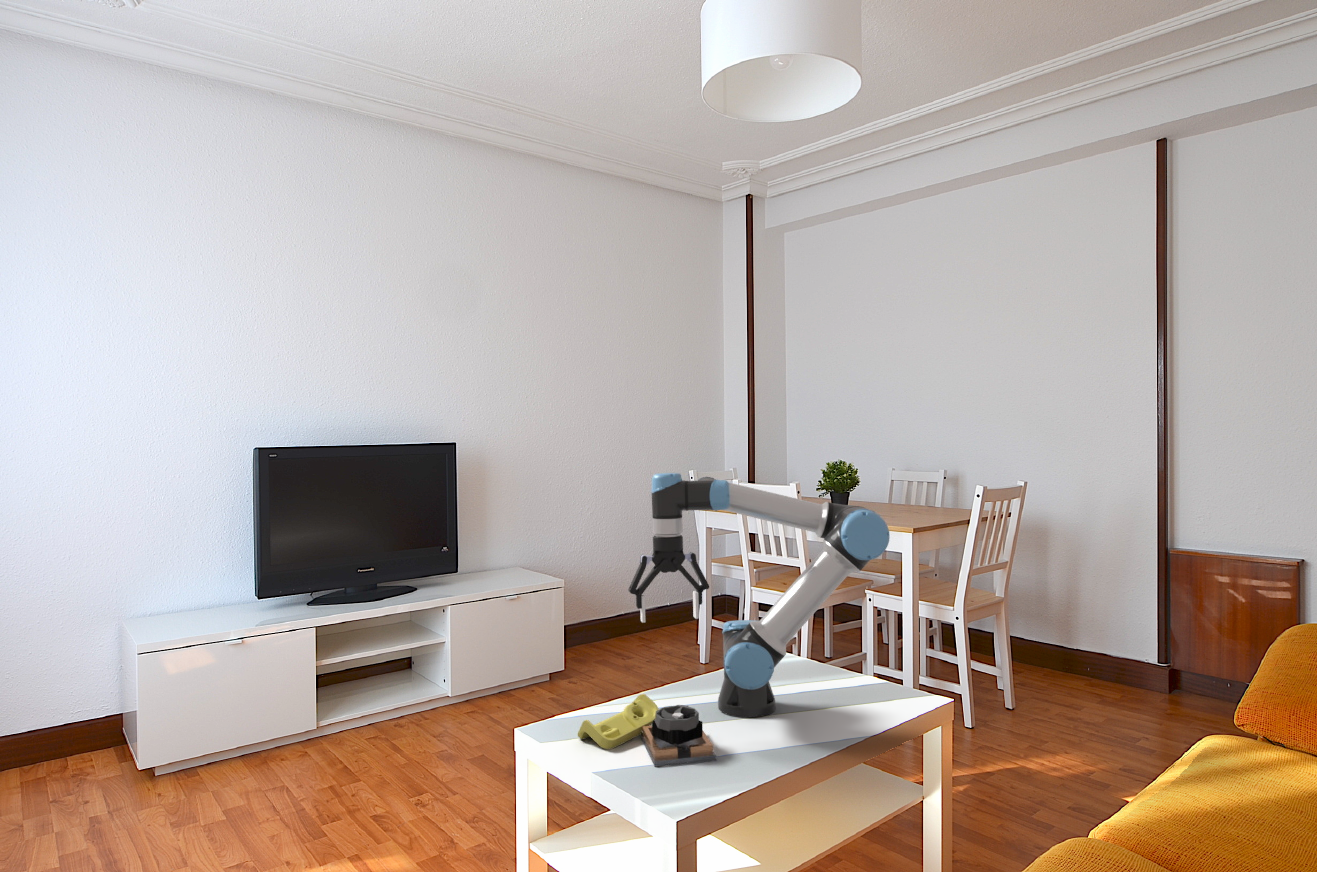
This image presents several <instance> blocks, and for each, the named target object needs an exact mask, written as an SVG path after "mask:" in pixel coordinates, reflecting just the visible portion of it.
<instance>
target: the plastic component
mask: <svg viewBox="0 0 1317 872" xmlns="http://www.w3.org/2000/svg"><path fill="white" fill-rule="evenodd" d="M659 709H660V708H659V706H658V705H657V704H656V703H655V702H654V701H653V700H652V699H651V698H650V697H649V696H647V694H645V693H641V694H639V695H638V696H637V697H636V698H635V699H634V700H633V701H632V702H631V703H629V704H627V705H626V706H625V707H624V709H623V711H621V712H618V713H616V714H615V715H612V716H610V717H609V718H606V719H604V720H602V721H600V722H598V723H596V724H593V723H592V722H591V721H590V720H588V719H586V720H583V722H582V723H581V726H580V727H579V730H578V732H577V737H578V738H579V739H581V740H585V739H587V738H589V737H591V739H592V740H593V741H594V742H595V743H596V744H597V745H598V746H599V747H600V748H602V749H604V750H612V749H615V748H616V747H617V748H618V746H620V745H622V744H624V743H626V742H628V741H630V740H632V739H634V738H635V737H638V736H640V732H642V726H652V722H653V720H655V714H656V711H657V710H659Z"/></svg>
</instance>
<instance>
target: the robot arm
mask: <svg viewBox="0 0 1317 872" xmlns="http://www.w3.org/2000/svg"><path fill="white" fill-rule="evenodd" d="M651 510H652V511H651V512H652V515H651V516H652V534H654V536H653V537H652V550H653V551H652V554H651V555H645V554H640V561H639V565H638V567H637V569H636V572H635V574H634V576H633V578H632V581H631V583H630V585H629V587H628V589H627V590H628V592H629V593H630V594H631V595H635V605H636V608H637V609H638V610H639V609H640V615H639V616H640V622H641V623H642V624H643V623H646V621H647V620H646V596H645V595H644V594H643V593H644V592H645V591H646V590H647V589H648V587H649V586H650V585H651V583H653V580H654V579H655V578H656V577H657V576H658V575H659V574H660V572H661V573H663V574H665V573H676V572H677V571H679V573H681V574H682V576H683V577H684V579H686V580H687V582H689V584H690V585H691V586H692V587H693V588H694V589H695V590H693V591H692V607H693V608H692V610H693V612H692V613H693V614H692V615H693V618H694V619H695V620H699V619H700V610H699V609H700V607H699V606H700V605H703V592H704V591H705V590H709V589H710V584H709V582H708V581H707V579H706V577H705V575H704V573H703V571H702V569H701V567H700V565H699V563H698V562H697V555H696V553H694V552H692V551H690V552H689V553H684V538H683V537H684V536H683V535H682V533H683V532H684V531H683V530H684V529H683V512H685V511H715V512H717V511H724V512H725V511H726V512H728V513H729V512H730V513H734V514H738V515H743V516H745V517H750V518H753V519H754V518H755V519H758V520H763V521H767V522H771V523H775V524H778V525H783V526H788V527H790V528H791V527H792V528H795V529H800V530H804V531H808V532H812V533H815V535H817V538H820V539H822V544H823V548H822V550H821V551H820V552H819V553H818V554H817V556H816V557H815V558H814V559H813V560H812V561H811V562H810V564H809V565H808V566H806V568H805V569H804V570H803V571H802V572H801V574H800V575H799V576H798V577H797V578H796V579H795V580H794V581H793V583H792V584H791V585H790V586H789V587H788V588H787V589H786V590H785V591H784V592H783V593H782V595H781V596H780V597H779V598H778V600H776V602H775V603H774V604H773V605H772V606H771V607H770V609H769V610H768V611H767V612H765V614H764V615H763V617H761V619H759V620H755V619H753V620H752V619H751V620H749V619H747V620H745V619H739V620H738V619H737V620H729V621H726V622H724V623H723V626H722V633H721V634H722V639H723V640H722V641H723V643H722V644H723V650H722V651H723V682H722V684H721V689H720V692H719V694H718V698H717V704H718V705H717V707H718V710H719V711H720V712H721V713H723V714H724V715H725V714H726V715H729V716H733V717H738V718H757V717H763V716H764V717H765V716H767V715H768V716H769V714H770V715H771V714H772V713H774V712H775V710H776V698H775V695H774V693H773V689H772V687H771V683H770V681H771V678H772V676H773V675H774V672H775V668H776V667H777V665H778V664H779V663H780V662H781V661H782V660H783V659H784V657H785V656H786V655H787V644H788V643H790V641H791V640H792V639H793V638H794V637H795V635H797V634H798V632H799V631H800V630H801V629H802V627H804V625H805V624H806V623H807V622H808V621H809V620H810V618H812V616H813V615H814V614H815V613H816V612H817V611H818V610H819V609H820V608H821V606H822V605H823V604H824V603H825V602H826V601H827V600H828V599H829V597H831V595H832V594H833V593H834V592H835V590H837V588H838V587H839V586H840V585H841V584H842V583H843V582H844V580H845V579H846V578H848V576H849V575H850V574H851V573H860V572H861V571H862V570H863V569H864V568H865V567H866V566H867V565H868V564H869V562H870V561H872V560H875V559H877V558H878V557H880V556H881V555H882V554H884V553H885V551H886V550H887V548H888V547H889V542H890V530H889V529H890V528H889V527H888V524H887V522H886V521H885V520H884V519H883V517H882V516H881V515H880V514H878V513H877V512H876V511H874V510H872V509H869V508H867V507H864V506H859V505H851V504H849V505H848V504H840V503H833V502H829V501H824V503H817V502H814V501H809V500H805V499H800V498H797V497H793V496H787V495H783V494H780V493H779V494H778V493H775V492H770V491H767V490H762V489H757V488H754V487H749V486H745V485H740V484H736V483H732V482H729V481H728V480H725V479H715V478H714V477H711V476H703V477H700V478H699V479H697V480H683V478H682V475H681V473H679V472H662V473H659V472H658V473H655V474H653V476H652V478H651ZM685 560H687V562H688V563H690V565H691V567H692V569H693V570H694V573H695V574H696V576H697V579H698V580H699V583H700V584H699V583H698V582H697V581H696V580H695V579H694V577H693V576H692V575H691V574H690V573H689V572H688V571H687V570H686V568H685V567H684V566H683V564H684V561H685ZM650 562H652V563H653V564H654V566H653V567H652V568H651V570H650V572H649V573H648V574H647V576H646V577H645V578H644V580H642V582H641V583H640V581H641V579H642V576H643V575H644V572H645V570H646V568H647V565H650ZM638 585H639V586H638Z"/></svg>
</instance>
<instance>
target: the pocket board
mask: <svg viewBox="0 0 1317 872" xmlns="http://www.w3.org/2000/svg"><path fill="white" fill-rule="evenodd" d="M639 736H640V739H641V741H642V744H643V746H644V748H645V749H646V751H647V754H648V756H649V758H650V760H651V763H652V764H653V766H654V768H656V767H666V766H676V765H685V764H686V765H687V764H695V763H703V762H712V761H713V762H715V761H717V754H716V753H715V751H714V744H713V742H712V741H711V739H710V738H709V737H708V736H707V734H706V732H705V731H704V730H703V735H702V737H700V738H697V739H694V740H691V741H688V742H685V743H682V744H679V745H677V744H673V745H672V744H670V743H668V742H665V741H663V740H660V739H658V738H656V737H654V736H652V725H649V726H642V732H640V735H639Z"/></svg>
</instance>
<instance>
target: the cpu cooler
mask: <svg viewBox="0 0 1317 872" xmlns="http://www.w3.org/2000/svg"><path fill="white" fill-rule="evenodd" d="M658 709H659V710H657V711H656V714H655V720H653V722H652V724H651V726H652V736H654V737H656V738H658V739H660V740H663V741H665V742H668V743H670V744H672V745H673V744H677V745H679V744H682V743H685V742H688V741H691V740H694V739H697V738H700V737H702V735H703V731H704V730H703V729H704V728H703V725H704V724H703V721H702V720H700V716H699V715H700V713H699V711H698V710H697V709H696V708H694V707H691V706H689V705H687V704H685V705H684V704H676V705H669V706H668V705H667V706H663V707H662V708H658Z"/></svg>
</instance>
